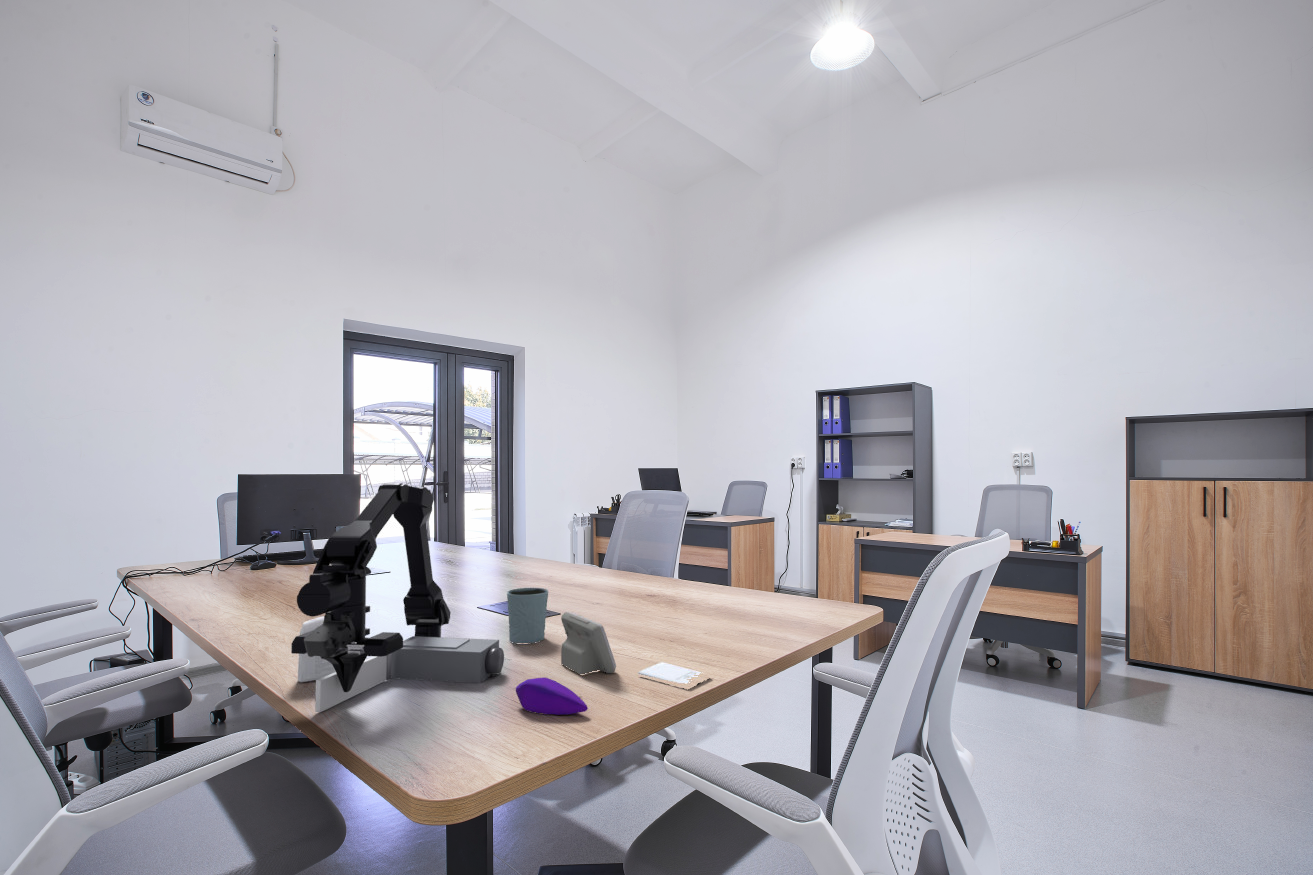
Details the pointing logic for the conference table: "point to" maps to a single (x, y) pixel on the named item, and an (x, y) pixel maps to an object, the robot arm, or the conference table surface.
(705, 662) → the conference table surface
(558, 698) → the purple teardrop stone
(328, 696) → the side door
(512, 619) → the teal cup
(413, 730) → the conference table surface
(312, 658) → the white upright block
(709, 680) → the conference table surface
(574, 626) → the digital clock
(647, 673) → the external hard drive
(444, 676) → the camera housing
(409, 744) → the conference table surface
